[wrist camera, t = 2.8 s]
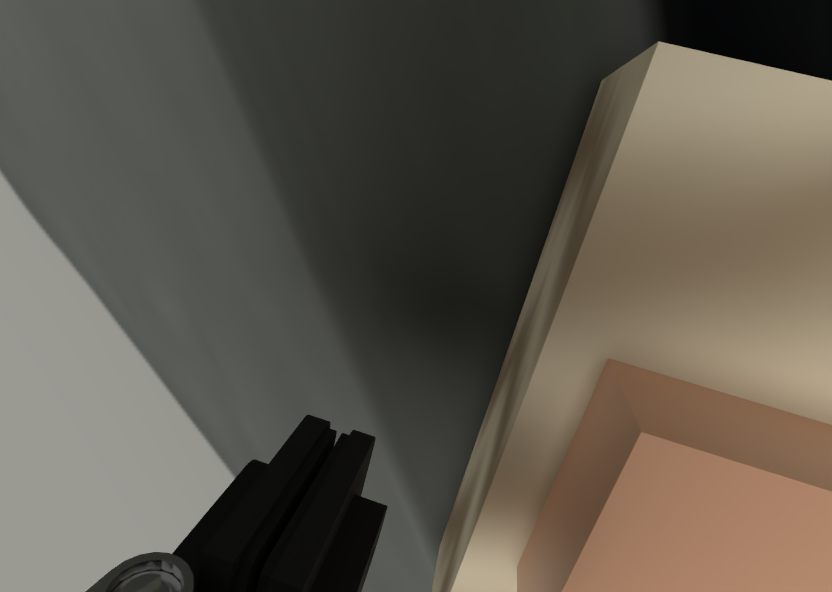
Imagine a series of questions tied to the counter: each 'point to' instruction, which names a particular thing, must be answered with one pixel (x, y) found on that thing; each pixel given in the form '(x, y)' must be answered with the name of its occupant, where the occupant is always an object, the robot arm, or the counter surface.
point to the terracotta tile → (684, 495)
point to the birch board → (661, 278)
